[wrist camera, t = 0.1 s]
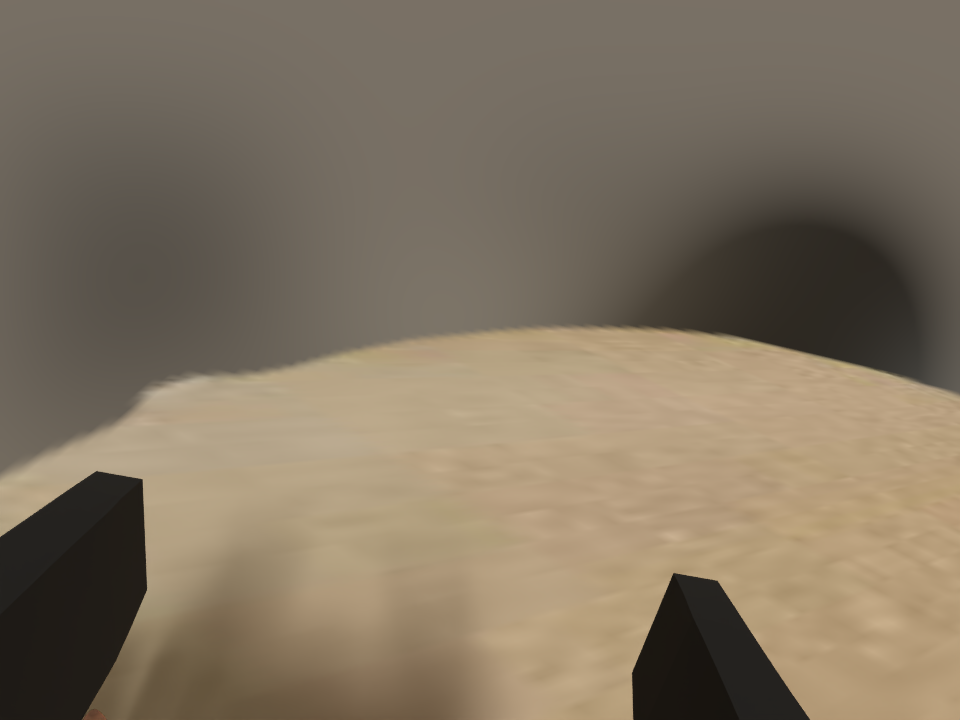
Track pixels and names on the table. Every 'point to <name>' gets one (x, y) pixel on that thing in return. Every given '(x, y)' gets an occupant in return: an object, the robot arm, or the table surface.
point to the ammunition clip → (94, 715)
